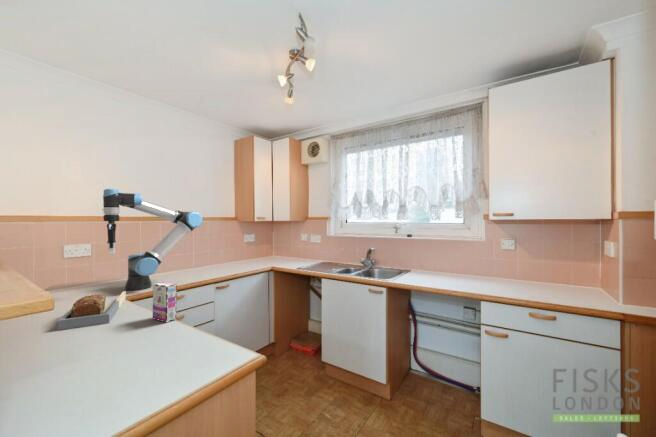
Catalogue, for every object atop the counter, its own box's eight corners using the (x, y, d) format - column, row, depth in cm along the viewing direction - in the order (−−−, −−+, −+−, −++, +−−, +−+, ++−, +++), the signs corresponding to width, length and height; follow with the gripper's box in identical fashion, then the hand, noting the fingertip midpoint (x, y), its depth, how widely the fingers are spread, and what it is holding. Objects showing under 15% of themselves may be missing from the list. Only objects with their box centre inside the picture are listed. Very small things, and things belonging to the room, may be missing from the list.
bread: (101, 321, 123) (101, 299, 123) (69, 326, 117) (69, 303, 117) (106, 310, 139) (106, 291, 139) (78, 314, 133) (78, 294, 133)
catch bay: (125, 297, 161) (125, 291, 161) (109, 322, 121) (109, 314, 121) (88, 302, 153) (88, 294, 153) (57, 330, 113) (57, 320, 113)
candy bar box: (177, 319, 126) (177, 284, 126) (166, 323, 121) (166, 286, 121) (162, 315, 131) (162, 281, 131) (151, 318, 126) (152, 283, 127)
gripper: (105, 214, 167) (105, 252, 167) (101, 214, 156) (101, 255, 156) (120, 214, 171) (121, 251, 171) (117, 214, 160) (117, 254, 160)
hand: (111, 253), depth 164 cm, fingers closed
